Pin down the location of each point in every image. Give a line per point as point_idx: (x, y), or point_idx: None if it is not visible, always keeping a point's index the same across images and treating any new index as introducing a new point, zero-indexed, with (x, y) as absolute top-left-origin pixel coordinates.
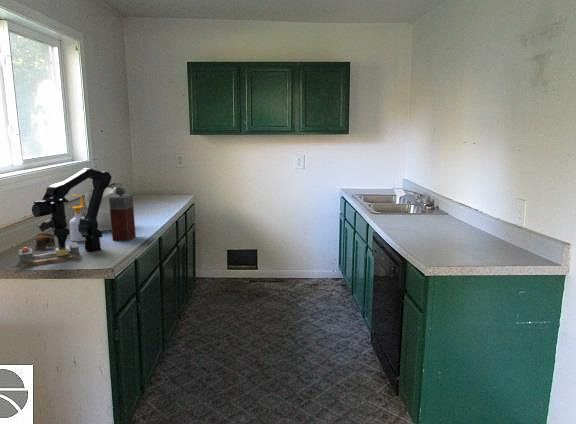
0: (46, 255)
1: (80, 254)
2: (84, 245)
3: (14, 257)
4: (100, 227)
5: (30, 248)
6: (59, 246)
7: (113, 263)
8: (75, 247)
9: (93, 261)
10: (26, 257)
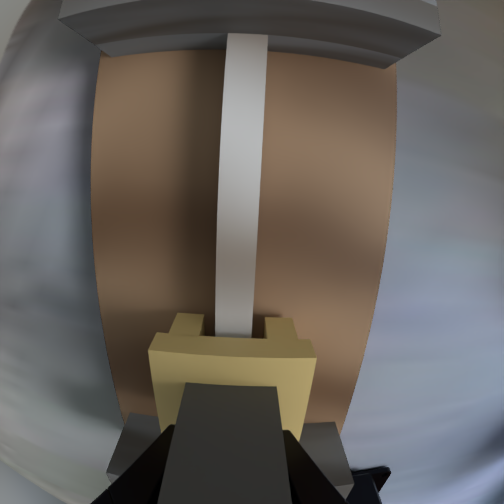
0: (220, 202)
1: None
2: (375, 489)
3: (495, 11)
4: None
5: (415, 11)
6: (179, 422)
7: (16, 466)
8: None
9: (55, 446)
10: None
